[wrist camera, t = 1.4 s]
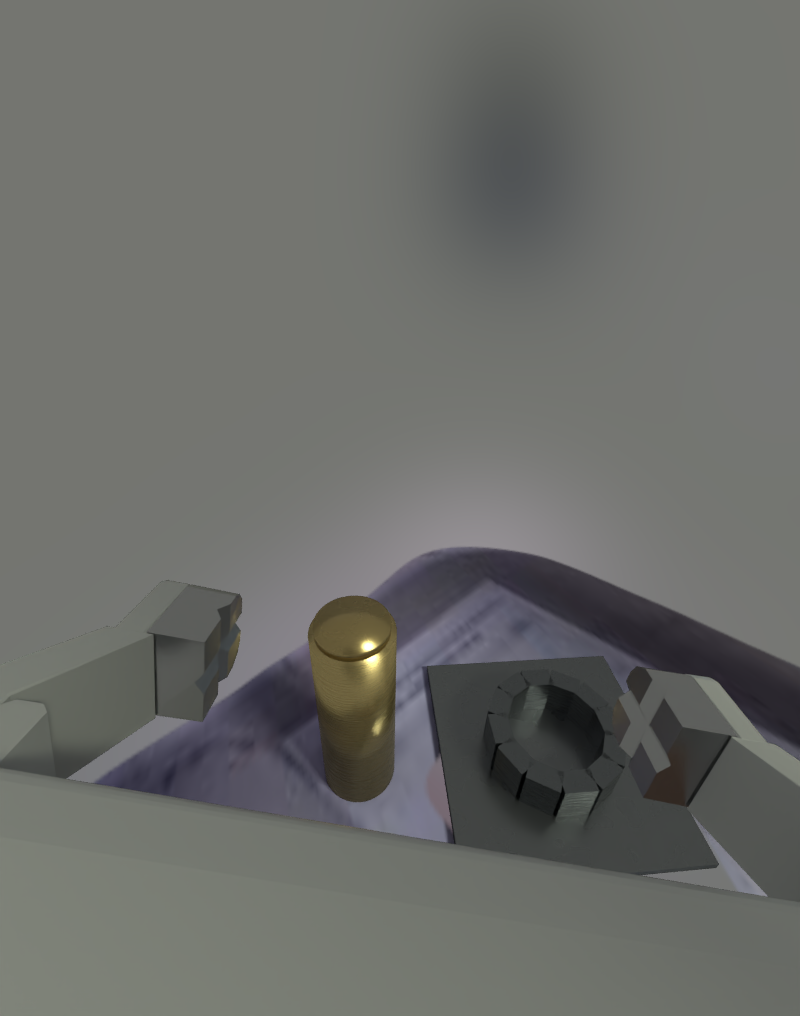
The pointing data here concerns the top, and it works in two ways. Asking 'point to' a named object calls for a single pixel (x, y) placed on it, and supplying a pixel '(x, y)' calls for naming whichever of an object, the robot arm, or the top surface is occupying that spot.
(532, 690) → the square socket base
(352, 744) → the cylinder
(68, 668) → the robot arm
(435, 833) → the top surface
